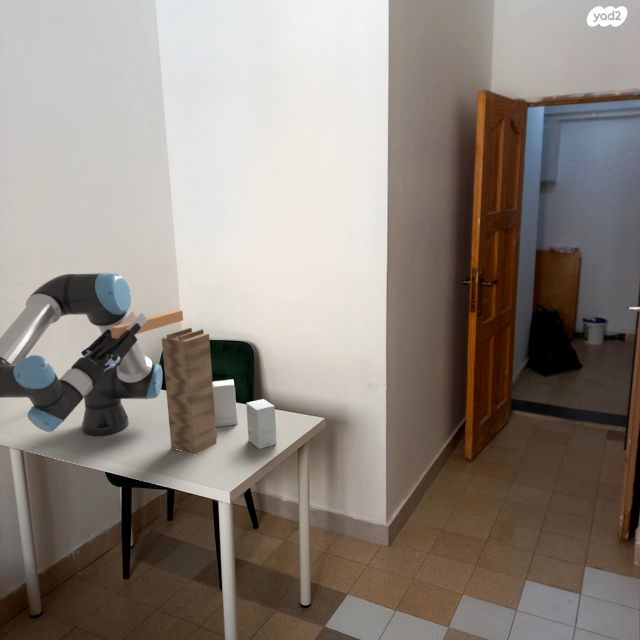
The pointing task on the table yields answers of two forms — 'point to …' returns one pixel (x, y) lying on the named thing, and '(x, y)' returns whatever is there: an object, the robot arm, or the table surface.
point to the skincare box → (224, 403)
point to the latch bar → (150, 323)
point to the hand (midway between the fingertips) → (139, 316)
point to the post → (189, 390)
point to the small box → (261, 423)
